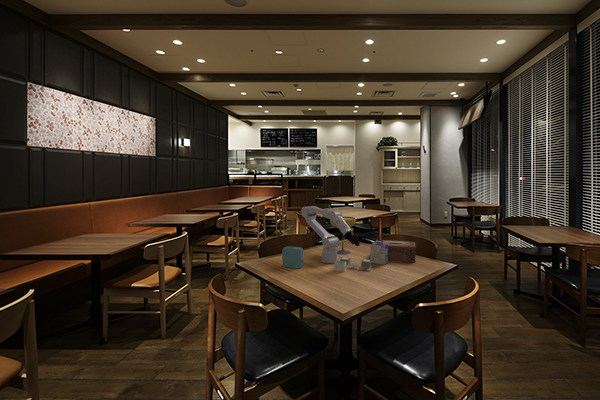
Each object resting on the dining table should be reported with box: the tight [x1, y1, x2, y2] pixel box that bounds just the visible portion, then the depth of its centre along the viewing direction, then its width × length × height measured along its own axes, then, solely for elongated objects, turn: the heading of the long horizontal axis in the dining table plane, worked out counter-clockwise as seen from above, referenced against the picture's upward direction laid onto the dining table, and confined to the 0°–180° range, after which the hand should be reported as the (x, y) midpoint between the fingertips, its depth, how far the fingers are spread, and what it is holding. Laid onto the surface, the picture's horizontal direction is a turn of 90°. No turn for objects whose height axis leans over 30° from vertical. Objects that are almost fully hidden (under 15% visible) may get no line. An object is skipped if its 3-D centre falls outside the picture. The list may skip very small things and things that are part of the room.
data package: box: [281, 245, 304, 270], centre depth 187 cm, size 12×4×12 cm, turn 69°
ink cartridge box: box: [369, 239, 389, 266], centre depth 194 cm, size 10×6×14 cm, turn 56°
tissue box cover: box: [374, 239, 417, 263], centre depth 207 cm, size 26×14×10 cm, turn 71°
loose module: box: [334, 260, 347, 273], centre depth 180 cm, size 6×4×5 cm, turn 68°
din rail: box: [346, 262, 373, 268], centre depth 186 cm, size 19×5×1 cm, turn 68°
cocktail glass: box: [329, 216, 357, 255], centre depth 220 cm, size 18×18×25 cm
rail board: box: [346, 264, 373, 272], centre depth 186 cm, size 19×9×1 cm, turn 68°
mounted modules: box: [339, 256, 372, 267], centre depth 186 cm, size 18×5×3 cm, turn 68°
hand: (356, 244), depth 181 cm, fingers open, 7 cm apart
